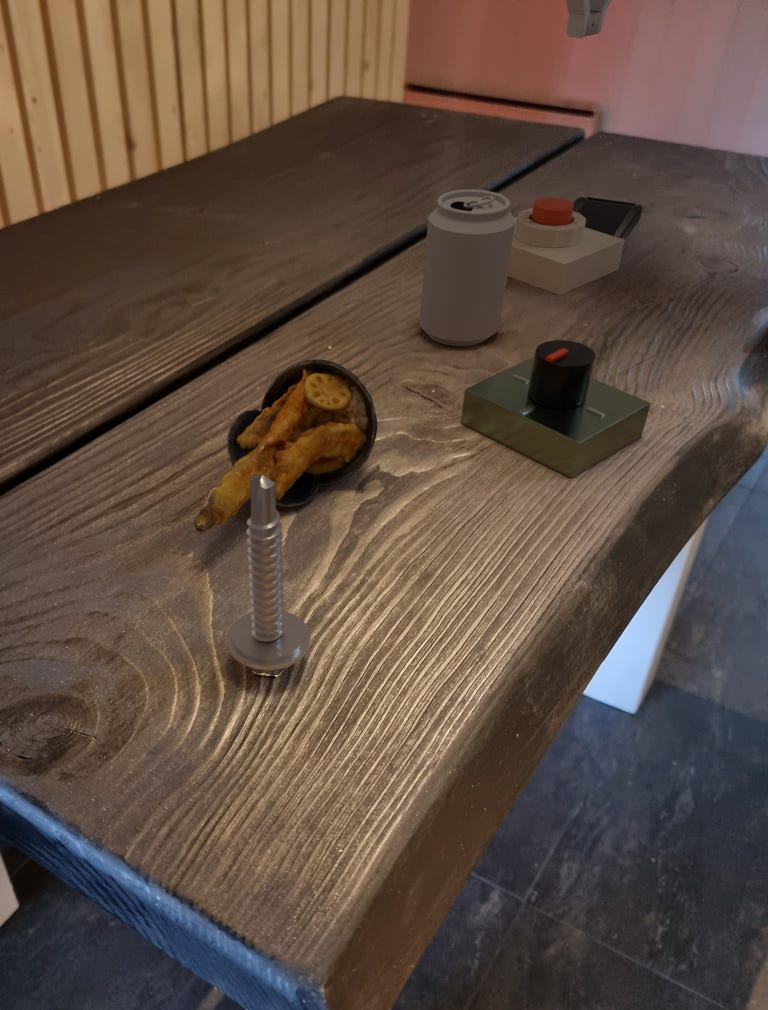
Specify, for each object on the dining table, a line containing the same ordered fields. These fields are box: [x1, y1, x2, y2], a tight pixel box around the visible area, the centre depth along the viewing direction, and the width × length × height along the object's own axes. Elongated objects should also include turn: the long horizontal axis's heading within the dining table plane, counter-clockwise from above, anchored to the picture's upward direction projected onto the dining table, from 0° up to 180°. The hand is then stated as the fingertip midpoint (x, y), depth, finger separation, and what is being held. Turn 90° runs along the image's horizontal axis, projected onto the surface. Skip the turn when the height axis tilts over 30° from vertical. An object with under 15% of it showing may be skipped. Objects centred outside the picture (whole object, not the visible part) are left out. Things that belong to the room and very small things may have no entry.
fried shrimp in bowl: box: [193, 359, 378, 536], centre depth 64 cm, size 9×11×18 cm
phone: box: [572, 196, 643, 241], centre depth 106 cm, size 8×1×15 cm
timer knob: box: [528, 339, 596, 409], centre depth 71 cm, size 4×4×4 cm
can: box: [419, 189, 515, 347], centre depth 83 cm, size 8×8×12 cm
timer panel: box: [460, 356, 652, 479], centre depth 73 cm, size 11×9×3 cm
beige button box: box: [507, 207, 626, 296], centre depth 97 cm, size 12×10×5 cm
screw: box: [225, 474, 311, 675], centre depth 50 cm, size 13×5×5 cm
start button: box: [531, 197, 574, 226], centre depth 95 cm, size 4×4×2 cm
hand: (582, 35), depth 85 cm, fingers closed
